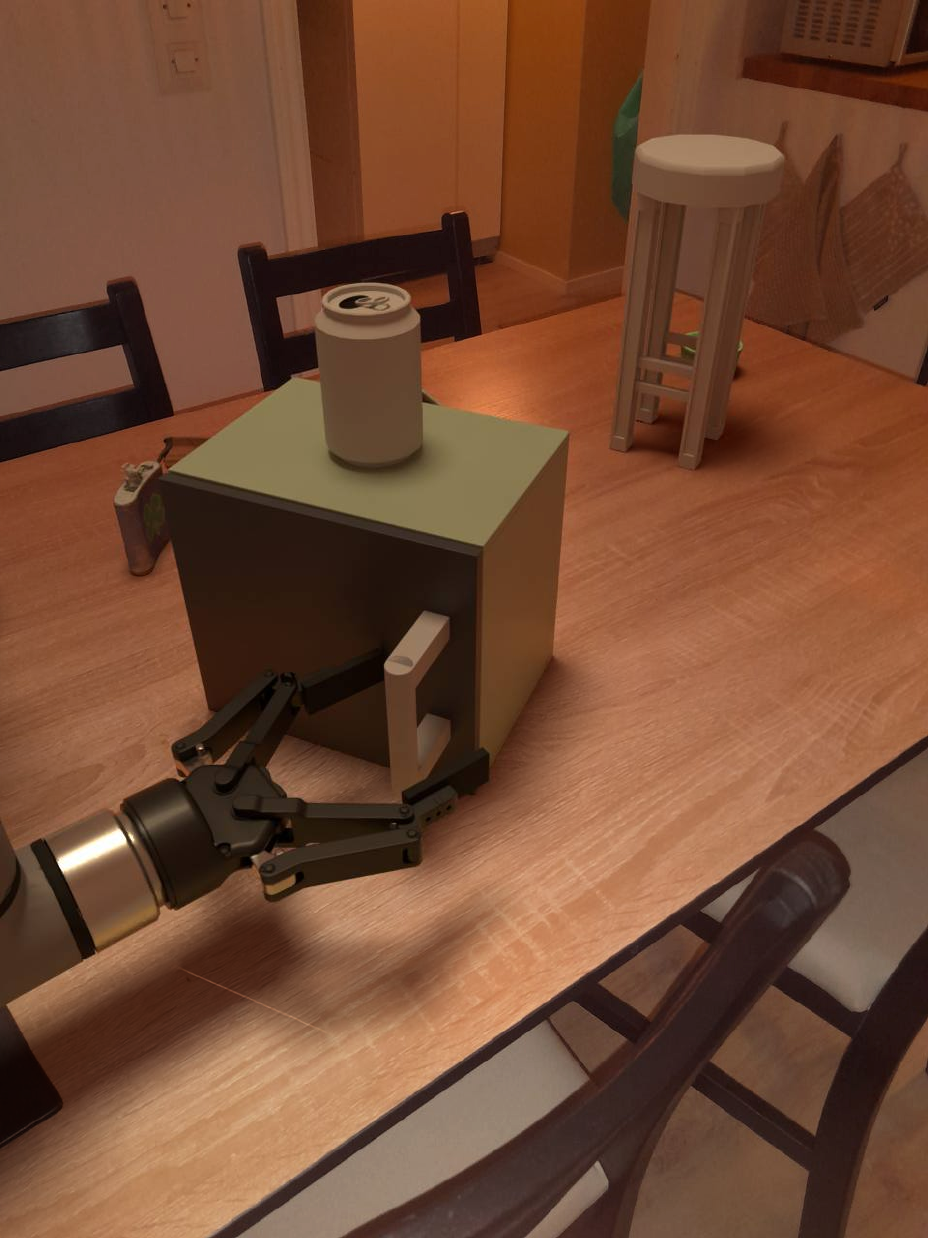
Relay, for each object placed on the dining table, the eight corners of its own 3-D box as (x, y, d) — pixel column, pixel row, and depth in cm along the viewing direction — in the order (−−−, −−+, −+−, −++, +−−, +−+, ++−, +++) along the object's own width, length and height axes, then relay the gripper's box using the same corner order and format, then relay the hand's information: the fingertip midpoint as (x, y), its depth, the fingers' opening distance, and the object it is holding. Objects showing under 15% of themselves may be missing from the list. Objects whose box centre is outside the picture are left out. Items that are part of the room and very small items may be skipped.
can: (358, 419, 79) (348, 270, 71) (440, 438, 76) (438, 286, 69) (307, 459, 73) (290, 303, 66) (394, 481, 71) (386, 321, 63)
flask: (149, 577, 102) (127, 489, 95) (122, 576, 102) (98, 487, 95) (179, 530, 109) (161, 445, 102) (154, 528, 109) (134, 443, 103)
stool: (704, 481, 118) (760, 173, 96) (588, 450, 124) (615, 154, 102) (742, 430, 128) (800, 142, 107) (633, 404, 134) (667, 127, 113)
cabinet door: (438, 860, 73) (432, 616, 58) (158, 761, 81) (93, 525, 66) (478, 787, 79) (482, 548, 64) (214, 701, 86) (165, 472, 72)
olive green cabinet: (479, 787, 79) (483, 545, 64) (216, 701, 87) (167, 469, 72) (552, 656, 92) (570, 430, 77) (318, 591, 100) (293, 376, 85)
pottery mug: (141, 507, 114) (139, 436, 112) (201, 507, 122) (199, 440, 121) (216, 509, 107) (214, 433, 106) (274, 508, 116) (272, 438, 114)
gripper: (83, 781, 68) (344, 661, 79) (241, 1046, 53) (538, 855, 63) (56, 703, 64) (337, 587, 74) (220, 969, 49) (545, 777, 59)
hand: (430, 711), depth 69 cm, fingers open, 12 cm apart
